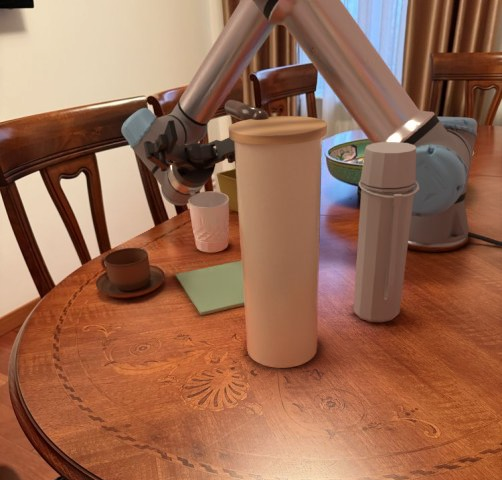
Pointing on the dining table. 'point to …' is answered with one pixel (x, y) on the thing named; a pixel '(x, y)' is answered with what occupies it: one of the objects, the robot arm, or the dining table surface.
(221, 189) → the flower pot
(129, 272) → the cup and saucer
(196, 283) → the mat
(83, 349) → the dining table surface
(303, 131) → the lid
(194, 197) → the white cup
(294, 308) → the canister
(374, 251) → the water bottle
